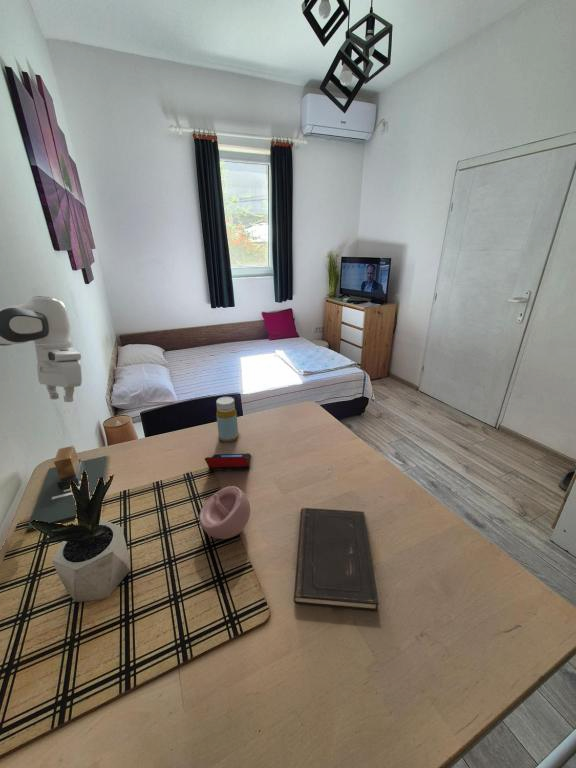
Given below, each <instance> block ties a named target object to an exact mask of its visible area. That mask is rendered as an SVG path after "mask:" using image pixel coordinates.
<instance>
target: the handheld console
mask: <svg viewBox="0 0 576 768" xmlns="http://www.w3.org/2000/svg"><path fill="white" fill-rule="evenodd" d="M251 458H252V455H251V453H216V454H213V455H212V456H209V457H205V458H204V461H205V463H206V465H207V466H208V470H209V471H211V472H212V471H214V472H215V471H228V470H231V471H240V470H241V471H242V470H245V471H247V470H249V469H250V466H251Z"/></svg>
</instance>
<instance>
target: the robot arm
mask: <svg viewBox="0 0 576 768" xmlns="http://www.w3.org/2000/svg"><path fill="white" fill-rule="evenodd" d="M70 332H71V324H70V319H69V314H68V311H67V307H66V305H65V304H64V302H63V301H62V300H59V299H57V298H53V297H51V296H50V297H49V296H42V295H33V296H31V298H30V299H28V300H25V301H23V302H21V303H17V304H14V305H11V306H7V307H2V308H0V346H3V347H5V346H11V345H21V344H26V343H28V342H31V341H32V342H34V346H35V348H34V349H35V354H36V360H37V364H36V371H37V379H38V380H37V381H38V382H39V384H40V385H44V386H46V390H47V393H48V394H49V399H50V400H52V401H55V400H59V398H60V397H59V392H58V391H57V387H60V388H63V391H64V395H63V400H64V402H65V403H72V402H74V394H75V388H77V387H78V388H79V387H81V385H82V381H83V378H82V377H83V376H82V375H83V374H82V365H81V363H80V360H82V355H81V352H79V351H78V350H77V349H75V348H74V346H73V342H72V339H71V336H70Z"/></svg>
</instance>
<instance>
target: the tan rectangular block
mask: <svg viewBox="0 0 576 768" xmlns="http://www.w3.org/2000/svg"><path fill="white" fill-rule="evenodd" d="M82 461H83V458H80V459H79V457H78V455H77V451H76V447H75V445H70V446H66V447H61V448H58V450H57V452H56V455H55V458H54V460H53V463H54V467H56V469H57V472H58V475H59V478H58V481H57V484H58V487H59V488H61V487H65V486H69V485H70V481H74V482H75V483H76V484H77V483H79V480H80V476H81V471H82V467H83V462H82Z"/></svg>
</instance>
